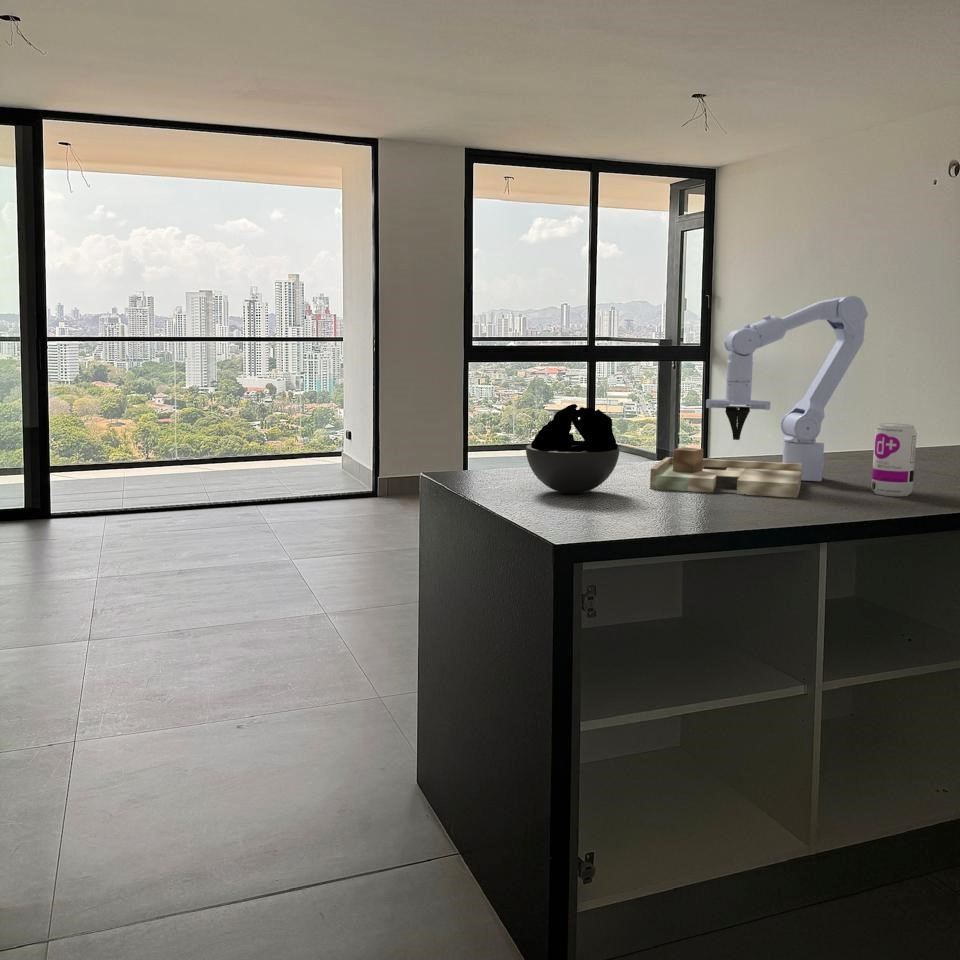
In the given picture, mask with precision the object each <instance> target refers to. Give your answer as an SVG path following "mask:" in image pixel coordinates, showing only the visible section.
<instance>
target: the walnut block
mask: <svg viewBox="0 0 960 960" xmlns="http://www.w3.org/2000/svg"><path fill="white" fill-rule="evenodd" d="M672 452H673V455H672V457H673V471H676V472H686V473H696V472H699V471H702V469H703V459H704V449H703V448H698V447H697V448H696V447H695V448H694V447H684V446H683V447H678V448H675V449H673V451H672Z"/></svg>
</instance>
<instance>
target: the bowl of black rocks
mask: <svg viewBox="0 0 960 960" xmlns="http://www.w3.org/2000/svg"><path fill="white" fill-rule="evenodd" d="M552 418H553V419H552V420H549V421H548V423H547V424H545V425H543V426H542V427H541V429H539V431H538V432H537V434H536V435H535V437H534V439H533V440H532V441H531V443H530V444H528V445H526V446H525V454H526V455H525V456H526V458H527V463H528V465H529V468H530V470H531V471H532V472H533V474H534V476H536V478H537V479H538V480H539V481H540V482H541V483H542V484H544V485H545V486H546V487H547V488H550V489H551V490H553V491H556V492H558V493H563V494H568V495H569V494H571V495H573V494H574V495H576V494H583V493H587V492H589V491H591V490H594V489H596V488H597V487H599V486H600V485H602V484H603V483H604V482H605V481H607V479H609V477H610V475H612V472H613V471H614V470H615V468H616V465H617V463H618V461H619V456H620V452H621V451H620V449H621V448H620V447H619V445H618V444H617V443H618V442H617V439H616V438H615V435H614V432H613V431H614V430H613V419H612V418H611V417H610V416H609V415H608V414H606V413H605V412H603V411H602V410H600V409H596V410H595V408H594V407H584V406H579V409H578V405H577V404H576V403H572V404H570V405H568V406H566V407H564V408H562V409H559V410H557V411H556V412H555V414H553V417H552ZM572 425H573V426H574V428H575V429H576V431H577V432H578V433H579V434H580V436H581V437H582V439H583V440H575V437H574V434H573V433H570V432H571V430H572Z"/></svg>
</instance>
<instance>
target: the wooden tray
mask: <svg viewBox="0 0 960 960" xmlns="http://www.w3.org/2000/svg"><path fill="white" fill-rule="evenodd" d="M801 472H802V464H796V463H783V462H772V461H757V460H756V461H755V460H754V461H752V460H734V459H730V460H729V459H711V458H703V469H702V471H699V472H696V473H686V472H676V471H673V456H672V457H671V456H670V457H669V456H665V457H664V458H662V460H660V461H659V462H658V463H656V464H655V465H654V466H652V467H651V468H650V477H649V478H650V481H649V483H650V484H649V489H650V490H664V491H678V492H679V491H682V492H695V493H696V492H697V493H711V492H712V493H714V494H715V493H716V494H728V493H729V494H730V495H744V494H746V495H747V496H764V497H765V496H766V497H781V498H794V499H795V498H798V496H799V493H800V488H801V484H802V480H801ZM729 494H728V495H729ZM746 495H745V496H746Z"/></svg>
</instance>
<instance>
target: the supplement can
mask: <svg viewBox="0 0 960 960" xmlns="http://www.w3.org/2000/svg"><path fill="white" fill-rule="evenodd" d="M917 437H918V432H917V430H916V429H915V425H914V424H909V423H908V424H907V423H895V422H894V423H891V422H890V423H887V422H886V423H879V424H878V426H877V428H876V429H875V431H874V442H873V444H874V445H873V457H872V460H873V461H872V472H871V473H872V474H871V485H870V486H871V491H873V493H874V494H876V495H879V496H886V497H909V496H910V494H912V493H913V487H914V476H915V462H916V461H915V460H916V448H917V446H916V445H917Z"/></svg>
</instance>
